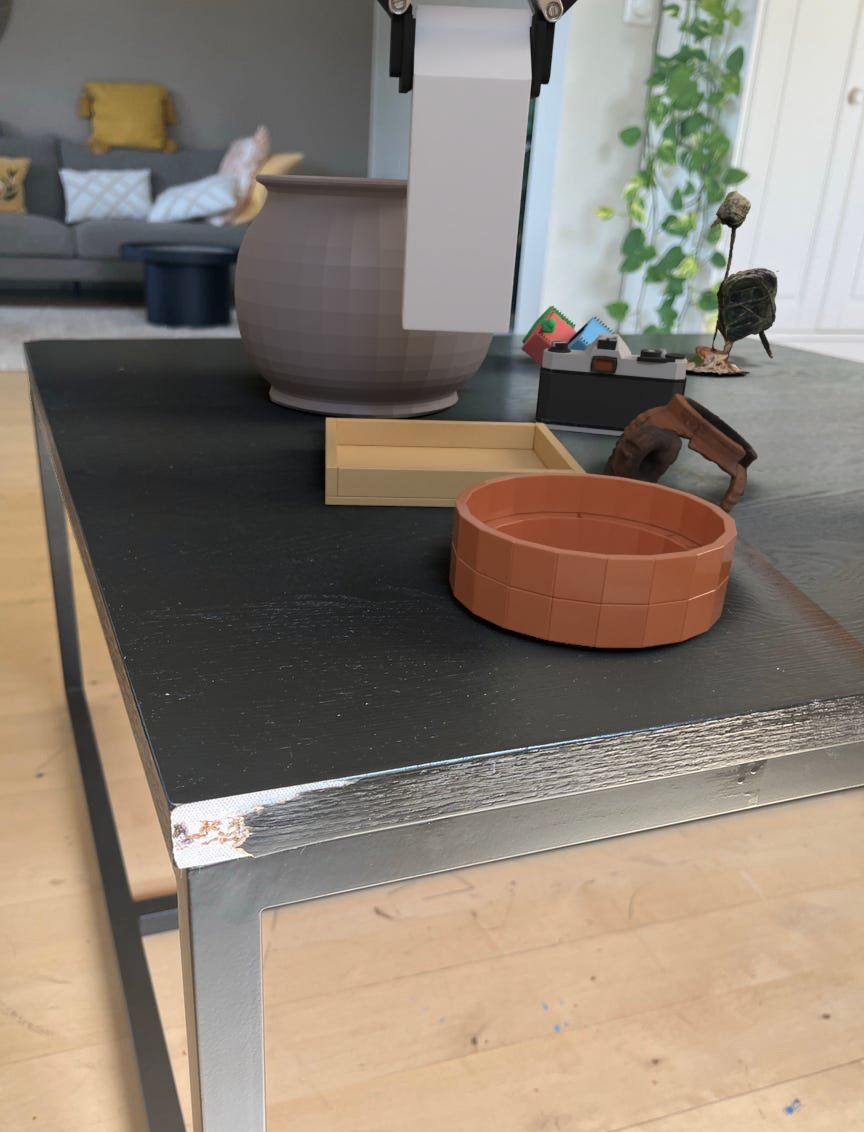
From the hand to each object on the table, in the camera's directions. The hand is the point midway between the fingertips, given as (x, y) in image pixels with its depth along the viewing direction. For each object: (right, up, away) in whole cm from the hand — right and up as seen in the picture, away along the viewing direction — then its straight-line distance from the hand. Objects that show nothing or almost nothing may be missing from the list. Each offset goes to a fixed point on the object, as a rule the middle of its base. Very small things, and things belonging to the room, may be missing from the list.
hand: (468, 92), depth 63 cm
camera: (+15, -15, +28) cm, 35 cm away
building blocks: (+16, -2, +55) cm, 58 cm away
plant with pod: (+35, -3, +57) cm, 67 cm away
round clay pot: (-7, -11, +35) cm, 37 cm away
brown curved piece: (+14, -25, +7) cm, 30 cm away
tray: (-1, -23, +11) cm, 25 cm away
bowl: (+5, -33, -10) cm, 34 cm away
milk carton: (-1, -13, +6) cm, 15 cm away
